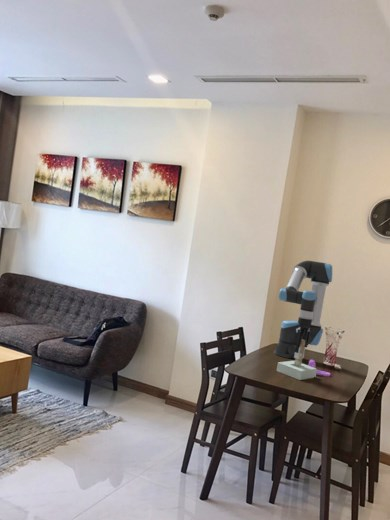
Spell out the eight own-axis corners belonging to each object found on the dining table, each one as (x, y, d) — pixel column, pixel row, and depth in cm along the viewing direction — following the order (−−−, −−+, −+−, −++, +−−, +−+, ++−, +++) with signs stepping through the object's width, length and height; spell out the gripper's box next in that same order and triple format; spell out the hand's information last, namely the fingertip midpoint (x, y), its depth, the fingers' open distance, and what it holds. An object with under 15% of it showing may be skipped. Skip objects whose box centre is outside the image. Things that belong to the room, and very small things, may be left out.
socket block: (292, 368, 286) (294, 360, 286) (315, 377, 275) (317, 368, 274) (276, 370, 275) (277, 362, 275) (299, 380, 264) (301, 371, 263)
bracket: (307, 372, 283) (309, 361, 283) (307, 370, 288) (309, 359, 288) (330, 377, 281) (332, 365, 280) (329, 374, 286) (331, 363, 286)
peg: (296, 362, 278) (300, 338, 277) (302, 364, 275) (306, 340, 274) (292, 362, 275) (296, 339, 274) (298, 365, 272) (302, 340, 271)
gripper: (308, 316, 282) (301, 355, 283) (291, 316, 270) (284, 356, 271) (319, 319, 276) (312, 358, 278) (302, 319, 265) (295, 360, 266)
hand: (298, 357), depth 275 cm, fingers closed on peg, 4 cm apart
